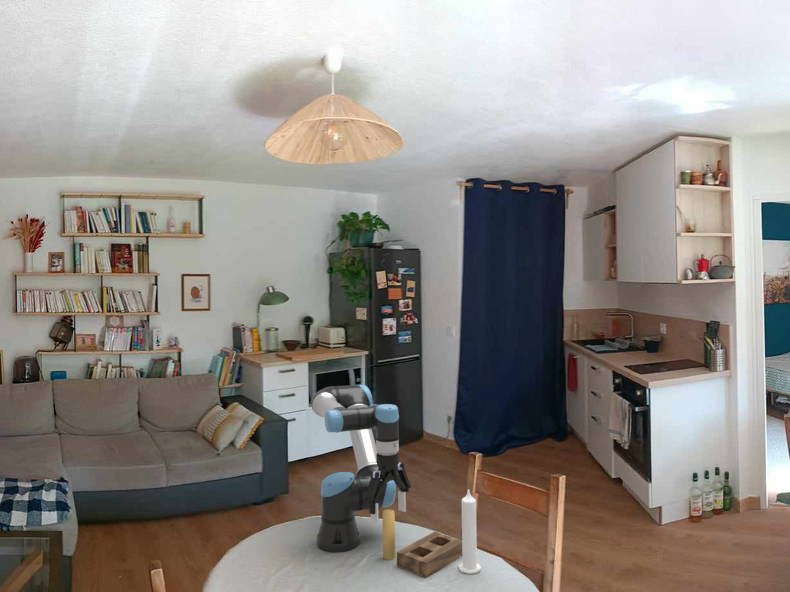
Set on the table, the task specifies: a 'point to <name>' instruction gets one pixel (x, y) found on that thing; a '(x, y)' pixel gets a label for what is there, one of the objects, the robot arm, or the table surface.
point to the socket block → (429, 554)
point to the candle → (469, 536)
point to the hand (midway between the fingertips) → (388, 517)
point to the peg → (388, 534)
